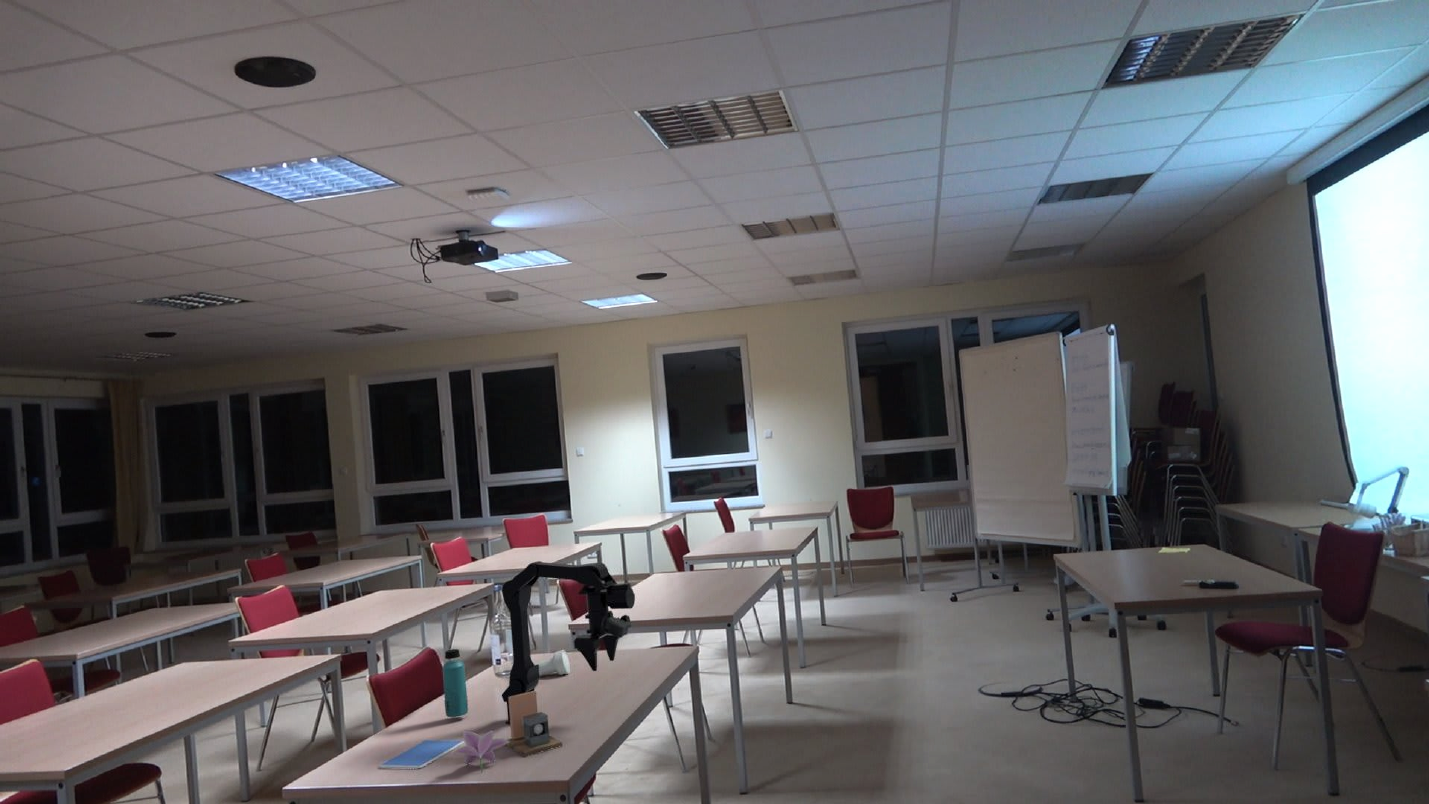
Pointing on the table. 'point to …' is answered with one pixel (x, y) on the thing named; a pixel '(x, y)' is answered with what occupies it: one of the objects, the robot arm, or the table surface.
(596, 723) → the table surface
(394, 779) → the table surface
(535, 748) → the tan board
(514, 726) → the salmon pink upright block
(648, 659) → the table surface
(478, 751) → the lily
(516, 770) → the table surface
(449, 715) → the beverage bottle
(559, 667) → the spotlight
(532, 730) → the charcoal metal brick
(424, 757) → the tablet computer
